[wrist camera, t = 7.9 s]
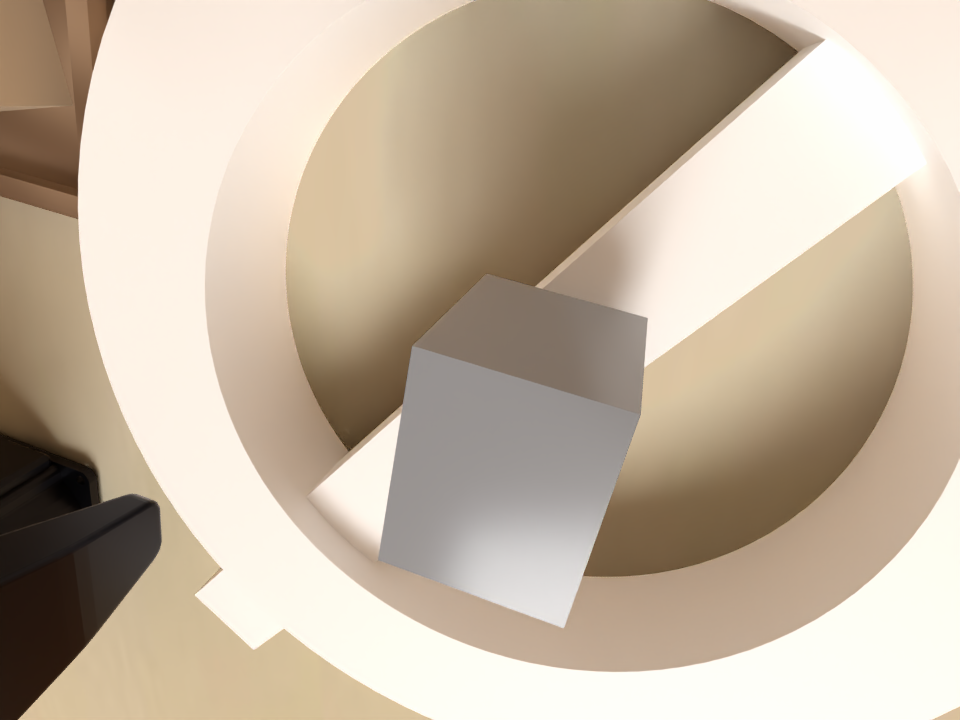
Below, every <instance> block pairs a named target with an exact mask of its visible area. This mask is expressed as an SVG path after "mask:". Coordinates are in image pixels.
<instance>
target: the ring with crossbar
mask: <svg viewBox="0 0 960 720" xmlns="http://www.w3.org/2000/svg"><path fill="white" fill-rule="evenodd" d="M474 1H476V0H115V3H114V6H113V8H112V11H111V14H110V17H109V20H108V23H107V26H106V28H105V31H104V34H103V37H102V40H101V44H100V48H99V51H98V55H97V59H96V62H95V66H94V70H93V73H92V78H91V83H90V88H89V93H88V98H87V103H86V108H85V114H84V122H83V129H82V136H81V144H80V159H79V173H78V221H79V241H80V250H81V259H82V268H83V276H84V282H85V288H86V294H87V300H88V305H89V309H90V314H91V318H92V323H93V327H94V331H95V335H96V339H97V342H98V346H99V349H100V353H101V356H102V360H103V363H104V366H105V369H106V372H107V374H108V377H109V380H110V383H111V386H112V389H113V391H114V394H115V396H116V399H117V401H118V404H119V406H120V409H121V411H122V414H123V416H124V418H125V420H126V422H127V425H128V427H129V429H130V431H131V433H132V435H133V437H134V440H135V442H136V444H137V446H138V447H139V449H140V451H141V453H142V455H143V457H144V459H145V461H146V463H147V464H148V466H149V468H150V470H151V471H152V473H153V475H154V476H155V478H156V480H157V481H158V483H159V485H160V487H161V488H162V490H163V491H164V493H165V494H166V496H167V497H168V499H169V500H170V502H171V504H172V505H173V507H174V508H175V510H176V511H177V513H178V514H179V515H180V517H181V518H182V519H183V521H184V522H185V524H186V525H187V526H188V528H189V529H190V530H191V532H192V533H193V534H194V536H195V537H196V538H197V539H198V541H199V542H200V543H201V544H202V546H203V547H204V548H205V549H206V551H207V552H208V553H209V554H210V556H211V557H212V558H213V559H214V560H215V561H216V562H217V563H218V565H219V566H220V567H221V568H220V569H219V570H218V571H217V572H216V573H215V574H214V575H213V576H212V577H211V578H210V579H209V580H208V581H207V582H206V583H205V585H204V586H203V587H202V588H201V589H200V590H199V591H198V592H197V593H196V594H195V596H196V597H197V598H198V599H199V600H200V601H202V602H203V603H204V604H205V605H206V606H207V607H208V608H209V609H210V610H211V611H212V612H213V613H214V614H216V615H217V616H218V617H219V618H220V619H221V620H222V621H223V622H224V623H225V624H226V625H227V626H228V627H230V628H231V629H232V630H233V631H234V632H235V633H236V634H237V635H238V636H239V637H240V638H241V639H242V640H244V641H245V642H246V643H247V644H248V645H249V646H250V647H251V648H252V649H253V650H255V649H256V648H257V647H259V646H260V645H261V644H263V643H264V642H266V641H267V640H268V639H270V638H271V637H273V636H274V635H275V634H277V633H278V632H279V631H281V630H282V629H285V630H287V631H288V632H289V633H290V634H292V635H293V636H294V637H295V638H297V639H298V640H299V641H301V642H302V643H303V644H304V645H306V646H307V647H308V648H310V649H311V650H312V651H314V652H315V653H317V654H318V655H319V656H321V657H322V658H324V659H325V660H326V661H328V662H329V663H331V664H332V665H334V666H335V667H337V668H338V669H340V670H341V671H343V672H344V673H346V674H348V675H349V676H351V677H352V678H354V679H356V680H357V681H359V682H361V683H362V684H364V685H366V686H367V687H369V688H371V689H373V690H374V691H376V692H378V693H380V694H382V695H383V696H385V697H387V698H389V699H391V700H393V701H395V702H397V703H399V704H401V705H403V706H405V707H407V708H409V709H411V710H413V711H415V712H417V713H419V714H422V715H424V716H426V717H428V718H431V719H433V720H932V719H934V718H936V717H938V716H940V715H943V714H945V713H947V712H949V711H951V710H953V709H955V708H957V707H959V706H960V0H708V1H710V2H713V3H716V4H718V5H721V6H723V7H726V8H728V9H730V10H732V11H734V12H736V13H738V14H740V15H742V16H744V17H746V18H748V19H750V20H752V21H753V22H755V23H757V24H758V25H760V26H762V27H763V28H765V29H767V30H768V31H770V32H772V33H773V34H775V35H776V36H777V37H779V38H780V39H782V40H783V41H784V42H786V43H787V44H789V45H790V46H791V47H793V48H794V49H795V50H797V51H798V53H797V54H796V55H795V56H794V57H793V58H791V59H790V60H789V61H788V62H787V63H786V64H785V65H784V66H782V67H781V68H780V69H779V70H778V71H777V72H776V73H775V74H773V75H772V76H771V77H770V78H769V79H768V80H767V81H766V82H764V83H763V84H762V85H761V86H760V87H759V88H758V89H757V90H755V91H754V92H753V93H752V94H751V95H750V96H749V97H748V98H746V99H745V100H744V101H743V102H742V103H741V104H740V105H739V106H737V107H736V108H735V109H734V110H733V111H732V112H731V113H730V114H728V115H727V116H726V117H725V118H724V119H723V120H722V121H721V122H719V123H718V124H717V125H716V126H715V127H714V128H713V129H712V130H710V131H709V132H708V133H707V134H706V135H705V136H704V137H703V138H701V139H700V140H699V141H698V142H697V143H696V144H695V145H694V146H692V147H691V148H690V149H689V150H688V151H687V152H686V153H685V154H683V155H682V156H681V157H680V158H679V159H678V160H677V161H676V162H674V163H673V164H672V165H671V166H670V167H669V168H668V169H667V170H665V171H664V172H663V173H662V174H661V175H660V176H659V177H658V178H656V179H655V180H654V181H653V182H652V183H651V184H650V185H649V186H648V187H646V188H645V189H644V190H643V191H642V192H641V193H640V194H639V195H637V196H636V197H635V198H634V199H633V200H632V201H631V202H630V203H628V204H627V205H626V206H625V207H624V208H623V209H622V210H621V211H619V212H618V213H617V214H616V215H615V216H614V217H613V218H612V219H610V220H609V221H608V222H607V223H606V224H605V225H604V226H603V227H601V228H600V229H599V230H598V231H597V232H596V233H595V234H594V235H592V236H591V237H590V238H589V239H588V240H587V241H586V242H585V243H583V244H582V245H581V246H580V247H579V248H578V249H577V250H576V251H574V252H573V253H572V254H571V255H570V256H569V257H568V258H567V259H565V260H564V261H563V262H562V263H561V264H560V265H559V266H558V267H556V268H555V269H554V270H553V271H552V272H551V273H550V274H549V275H547V276H546V277H545V278H544V279H543V280H542V281H541V282H540V283H538V284H537V285H536V286H535V287H537V288H541V289H545V290H548V291H552V292H555V293H559V294H563V295H566V296H570V297H574V298H577V299H581V300H585V301H588V302H592V303H595V304H599V305H603V306H606V307H610V308H614V309H617V310H621V311H625V312H628V313H632V314H635V315H639V316H643V317H646V318H648V322H647V335H646V349H645V362H644V368H645V367H646V366H647V365H649V364H650V363H651V362H653V361H654V360H656V359H657V358H658V357H660V356H661V355H663V354H664V353H665V352H667V351H668V350H669V349H671V348H672V347H674V346H675V345H676V344H678V343H679V342H681V341H682V340H683V339H685V338H686V337H687V336H689V335H690V334H692V333H693V332H694V331H696V330H697V329H699V328H700V327H701V326H703V325H704V324H705V323H707V322H708V321H710V320H711V319H712V318H714V317H715V316H716V315H718V314H719V313H721V312H722V311H723V310H725V309H726V308H728V307H729V306H730V305H732V304H733V303H734V302H736V301H737V300H739V299H740V298H741V297H743V296H744V295H746V294H747V293H748V292H750V291H751V290H752V289H754V288H755V287H757V286H758V285H759V284H761V283H762V282H764V281H765V280H766V279H768V278H769V277H770V276H772V275H773V274H775V273H776V272H777V271H779V270H780V269H781V268H783V267H784V266H786V265H787V264H788V263H790V262H791V261H793V260H794V259H795V258H797V257H798V256H799V255H801V254H802V253H804V252H805V251H806V250H808V249H809V248H811V247H812V246H813V245H815V244H816V243H817V242H819V241H820V240H822V239H823V238H824V237H826V236H827V235H829V234H830V233H831V232H833V231H834V230H835V229H837V228H838V227H840V226H841V225H842V224H844V223H845V222H846V221H848V220H849V219H851V218H852V217H853V216H855V215H856V214H858V213H859V212H860V211H862V210H863V209H864V208H866V207H867V206H869V205H870V204H871V203H873V202H874V201H876V200H877V199H878V198H880V197H881V196H882V195H884V194H885V193H887V192H888V191H889V190H891V189H892V188H894V187H896V190H897V193H898V196H899V199H900V202H901V206H902V209H903V213H904V217H905V221H906V225H907V230H908V236H909V242H910V248H911V258H912V271H913V301H912V313H911V323H910V329H909V335H908V340H907V346H906V350H905V354H904V358H903V361H902V365H901V369H900V372H899V375H898V377H897V380H896V383H895V386H894V389H893V391H892V394H891V396H890V398H889V400H888V403H887V405H886V407H885V409H884V411H883V413H882V415H881V417H880V419H879V421H878V422H877V424H876V426H875V428H874V430H873V431H872V433H871V434H870V436H869V438H868V439H867V441H866V442H865V444H864V445H863V447H862V448H861V450H860V451H859V452H858V454H857V455H856V456H855V458H854V459H853V460H852V462H851V463H850V464H849V466H848V467H847V468H846V469H845V470H844V471H843V472H842V474H841V475H840V476H839V477H838V478H837V479H836V480H835V481H834V482H833V483H832V484H831V485H830V486H829V487H828V488H827V489H826V490H825V491H824V492H823V493H822V494H821V495H820V496H819V497H818V498H817V499H816V500H814V501H813V502H812V503H811V504H810V505H809V506H807V507H806V508H805V509H804V510H803V511H801V512H800V513H799V514H797V515H796V516H794V517H793V518H792V519H790V520H789V521H788V522H786V523H785V524H783V525H782V526H780V527H778V528H777V529H775V530H774V531H772V532H771V533H769V534H767V535H765V536H763V537H762V538H760V539H758V540H756V541H754V542H753V543H750V544H748V545H746V546H744V547H742V548H740V549H738V550H735V551H733V552H731V553H728V554H726V555H723V556H720V557H718V558H715V559H712V560H709V561H706V562H703V563H700V564H696V565H693V566H689V567H685V568H681V569H676V570H671V571H666V572H661V573H654V574H647V575H637V576H625V577H591V576H582V579H581V582H580V585H579V587H578V590H577V593H576V596H575V599H574V601H573V604H572V607H571V610H570V613H569V615H568V618H567V621H566V624H565V626H564V628H561V627H558V626H556V625H553V624H550V623H548V622H545V621H542V620H539V619H537V618H534V617H531V616H529V615H526V614H523V613H520V612H518V611H515V610H512V609H510V608H507V607H504V606H501V605H499V604H496V603H493V602H490V601H488V600H485V599H482V598H480V597H477V596H474V595H471V594H469V593H466V592H463V591H461V590H458V589H455V588H452V587H450V586H447V585H444V584H442V583H439V582H436V581H433V580H431V579H428V578H425V577H423V576H420V575H417V574H414V573H412V572H409V571H406V570H403V569H401V568H398V567H395V566H393V565H390V564H387V563H384V562H382V561H379V560H378V556H379V550H380V544H381V538H382V531H383V525H384V519H385V513H386V506H387V500H388V494H389V488H390V481H391V475H392V469H393V463H394V456H395V450H396V444H397V438H398V431H399V425H400V419H401V412H402V406H403V404H402V405H401V406H400V407H399V408H398V409H397V410H396V411H394V412H393V413H392V414H391V415H390V416H389V417H388V418H387V419H385V420H384V421H383V422H382V423H381V424H380V425H379V426H378V427H376V428H375V429H374V430H373V431H372V432H371V433H370V434H369V435H367V436H366V437H365V438H364V439H363V440H362V441H361V442H360V443H358V444H357V445H356V446H355V447H354V448H353V449H352V450H351V451H348V450H347V449H346V447H345V446H344V445H343V443H342V442H341V441H340V439H339V438H338V436H337V435H336V433H335V432H334V430H333V429H332V427H331V425H330V424H329V422H328V421H327V419H326V417H325V415H324V414H323V412H322V410H321V408H320V406H319V404H318V402H317V400H316V398H315V396H314V394H313V392H312V390H311V388H310V385H309V383H308V380H307V378H306V376H305V373H304V370H303V367H302V364H301V361H300V359H299V355H298V352H297V348H296V345H295V341H294V337H293V332H292V328H291V323H290V317H289V310H288V302H287V291H286V249H287V240H288V231H289V225H290V219H291V213H292V209H293V205H294V201H295V197H296V193H297V190H298V187H299V184H300V181H301V177H302V174H303V172H304V169H305V167H306V164H307V162H308V159H309V157H310V155H311V153H312V151H313V149H314V146H315V144H316V142H317V140H318V138H319V136H320V135H321V133H322V131H323V130H324V128H325V126H326V124H327V123H328V121H329V119H330V118H331V116H332V115H333V113H334V112H335V110H336V109H337V108H338V106H339V105H340V103H341V102H342V100H343V99H344V98H345V97H346V95H347V94H348V93H349V92H350V90H351V89H352V88H353V87H354V85H355V84H356V83H357V82H358V81H359V80H360V79H361V78H362V77H363V76H364V75H365V74H366V72H367V71H368V70H369V69H370V68H371V67H372V66H373V65H375V64H376V63H377V62H378V61H379V60H380V59H381V58H382V57H383V56H384V55H385V54H386V53H388V52H389V51H390V50H391V49H393V48H394V47H395V46H397V45H398V44H399V43H400V42H402V41H403V40H404V39H405V38H407V37H408V36H410V35H411V34H413V33H414V32H416V31H417V30H419V29H420V28H422V27H423V26H425V25H427V24H429V23H430V22H432V21H434V20H436V19H437V18H439V17H441V16H443V15H444V14H446V13H449V12H451V11H453V10H455V9H457V8H459V7H461V6H464V5H466V4H468V3H471V2H474Z"/></svg>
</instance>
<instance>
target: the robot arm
mask: <svg viewBox="0 0 960 720" xmlns="http://www.w3.org/2000/svg"><path fill="white" fill-rule="evenodd" d="M161 540H162V539H161V518H160V507H159V505H158V503H157V502H155V501H154V500H151V499H149V498H146V497H143V496H141V495H138V494H128V495H124V496H121V497H118V498H115V499H112V500H109V501H106V502H102V503H99V497H98V487H97V478H96V475H95V474H94V472H93V471H92V470H91V469H90V468H88V467H86V466H83V465H81V464H78V463H75V462H73V461H70V460H67V459H65V458H62V457H59V456H57V455H54V454H51V453H49V452H46V451H43V450H41V449H38V448H35V447H33V446H30V445H27V444H25V443H22V442H19V441H17V440H14V439H11V438H9V437H6V436H3V435H1V434H0V720H18V719H19V718H20V717H21V716H22V715H23V714H24V713H25V712H26V711H27V709H28V708H29V707H30V706H31V705H32V704H33V703H34V702H35V701H36V700H37V699H38V698H39V697H40V695H41V694H42V693H43V692H44V691H45V690H46V689H47V688H48V687H49V686H50V685H51V684H52V683H53V682H54V680H55V679H56V678H57V677H58V676H59V675H60V674H61V673H62V672H63V671H64V670H65V669H66V668H67V667H68V665H69V664H70V663H71V662H72V661H73V660H74V659H75V658H76V657H77V656H78V654H79V653H80V652H81V651H82V650H83V649H84V648H85V647H86V646H87V644H88V643H89V642H90V641H91V639H92V638H93V637H94V636H95V635H96V633H97V632H98V631H99V630H100V628H101V627H102V626H103V624H104V623H105V622H106V621H107V619H108V618H109V617H110V615H111V614H112V613H113V612H114V610H115V609H116V608H117V606H118V605H119V604H120V603H121V601H122V600H123V599H124V597H125V596H126V595H127V594H128V592H129V591H130V590H131V588H132V587H133V586H134V585H135V583H136V582H137V581H138V579H139V578H140V577H141V576H142V574H143V573H144V572H145V570H146V569H147V568H148V567H149V565H150V564H151V563H152V561H153V560H154V559H155V557H156V556H157V554H158V552H159V549H160V546H161Z"/></svg>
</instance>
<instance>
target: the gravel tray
mask: <svg viewBox="0 0 960 720" xmlns="http://www.w3.org/2000/svg"><path fill="white" fill-rule="evenodd" d="M43 3H44V7H45V10H46V14H47V17H48V21H49V24H50V28H51V31H52V34H53V38H54V41H55V45H56V48H57V52H58V55H59V59H60V62H61V66H62V69H63V73H64V76H65V80H66V83H67V87H68V90H69V93H70V97H71V100H72V104H73V105H72V106H60V107H48V108H36V109H24V110H11V111H0V196H2V197H6V198H9V199H12V200H16V201H19V202H22V203H26V204H29V205H33V206H36V207H39V208H43V209H46V210H49V211H53V212H56V213H60V214H63V215H66V216H70V217H73V218H76V219H78V173H79V159H80V144H81V136H82V129H83V122H84V114H85V108H86V103H87V98H88V93H89V88H90V83H91V78H92V73H93V70H94V66H95V62H96V59H97V55H98V51H99V48H100V44H101V40H102V37H103V34H104V31H105V28H106V26H107V23H108V20H109V17H110V14H111V11H112V8H113V6H114V3H115V0H43Z"/></svg>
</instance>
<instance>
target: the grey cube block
mask: <svg viewBox="0 0 960 720" xmlns="http://www.w3.org/2000/svg"><path fill="white" fill-rule="evenodd" d="M647 322H648V318H646V317H643V316H639V315H635V314H632V313H628V312H625V311H621V310H617V309H614V308H610V307H606V306H603V305H599V304H595V303H592V302H588V301H585V300H581V299H577V298H574V297H570V296H566V295H563V294H559V293H555V292H552V291H548V290H545V289H541V288H537V287H534V286H530V285H526V284H523V283H519V282H516V281H512V280H508V279H505V278H501V277H497V276H494V275H490V274H486V275H485V276H483V277H482V278H481V279H480V280H479V281H478V282H477V283H476V284H475V285H474V286H473V287H472V288H471V289H470V290H469V291H468V292H467V293H466V294H465V295H464V296H463V297H462V298H461V299H460V300H459V301H458V302H457V303H456V304H455V305H454V306H453V307H452V308H451V309H449V310H448V311H447V312H446V313H445V314H444V315H443V316H442V317H441V318H440V319H439V320H438V321H437V322H436V323H435V324H434V325H433V326H432V327H431V328H430V329H429V330H428V331H427V332H426V333H425V334H424V335H423V336H422V337H421V338H420V339H419V340H418V341H416V342H415V343H414V344H413V345H412V350H411V356H410V362H409V369H408V375H407V381H406V387H405V394H404V400H403V406H402V412H401V419H400V425H399V431H398V438H397V444H396V450H395V456H394V463H393V469H392V475H391V481H390V488H389V494H388V500H387V506H386V513H385V519H384V525H383V531H382V538H381V544H380V550H379V556H378V560H379V561H382V562H384V563H387V564H390V565H393V566H395V567H398V568H401V569H403V570H406V571H409V572H412V573H414V574H417V575H420V576H423V577H425V578H428V579H431V580H433V581H436V582H439V583H442V584H444V585H447V586H450V587H452V588H455V589H458V590H461V591H463V592H466V593H469V594H471V595H474V596H477V597H480V598H482V599H485V600H488V601H490V602H493V603H496V604H499V605H501V606H504V607H507V608H510V609H512V610H515V611H518V612H520V613H523V614H526V615H529V616H531V617H534V618H537V619H539V620H542V621H545V622H548V623H550V624H553V625H556V626H558V627H561V628H564V626H565V624H566V621H567V618H568V615H569V613H570V610H571V607H572V604H573V601H574V599H575V596H576V593H577V590H578V587H579V585H580V582H581V579H582V576H583V574H584V571H585V568H586V565H587V562H588V560H589V557H590V554H591V551H592V549H593V546H594V543H595V540H596V537H597V535H598V532H599V529H600V526H601V523H602V521H603V518H604V515H605V512H606V510H607V507H608V504H609V501H610V498H611V496H612V493H613V490H614V487H615V484H616V482H617V479H618V476H619V473H620V471H621V468H622V465H623V462H624V459H625V457H626V454H627V451H628V448H629V445H630V443H631V440H632V437H633V434H634V432H635V429H636V426H637V423H638V420H639V418H640V415H641V402H642V389H643V375H644V362H645V349H646V335H647Z"/></svg>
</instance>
